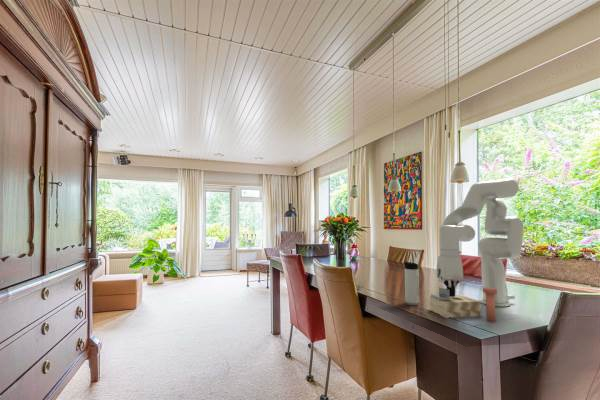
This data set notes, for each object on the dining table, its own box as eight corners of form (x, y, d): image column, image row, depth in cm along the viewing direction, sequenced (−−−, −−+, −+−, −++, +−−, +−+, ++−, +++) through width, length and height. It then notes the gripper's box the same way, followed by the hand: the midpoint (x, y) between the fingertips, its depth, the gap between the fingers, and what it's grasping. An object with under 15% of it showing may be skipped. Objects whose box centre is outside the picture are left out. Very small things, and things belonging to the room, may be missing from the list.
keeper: (441, 296, 131) (441, 286, 131) (450, 300, 125) (450, 290, 125) (430, 296, 130) (430, 287, 130) (439, 300, 124) (438, 290, 124)
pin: (491, 318, 121) (490, 287, 122) (501, 322, 116) (499, 289, 117) (481, 318, 120) (479, 287, 121) (490, 322, 115) (488, 290, 116)
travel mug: (402, 302, 145) (401, 260, 146) (415, 301, 145) (414, 260, 147) (408, 305, 139) (407, 262, 140) (421, 305, 139) (420, 262, 141)
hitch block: (462, 308, 134) (462, 294, 135) (480, 316, 124) (480, 301, 124) (430, 309, 132) (429, 296, 133) (445, 317, 121) (445, 302, 122)
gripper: (459, 252, 134) (460, 293, 133) (428, 252, 132) (430, 294, 131) (471, 254, 127) (472, 297, 125) (439, 254, 125) (440, 298, 123)
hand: (451, 295), depth 128 cm, fingers closed
